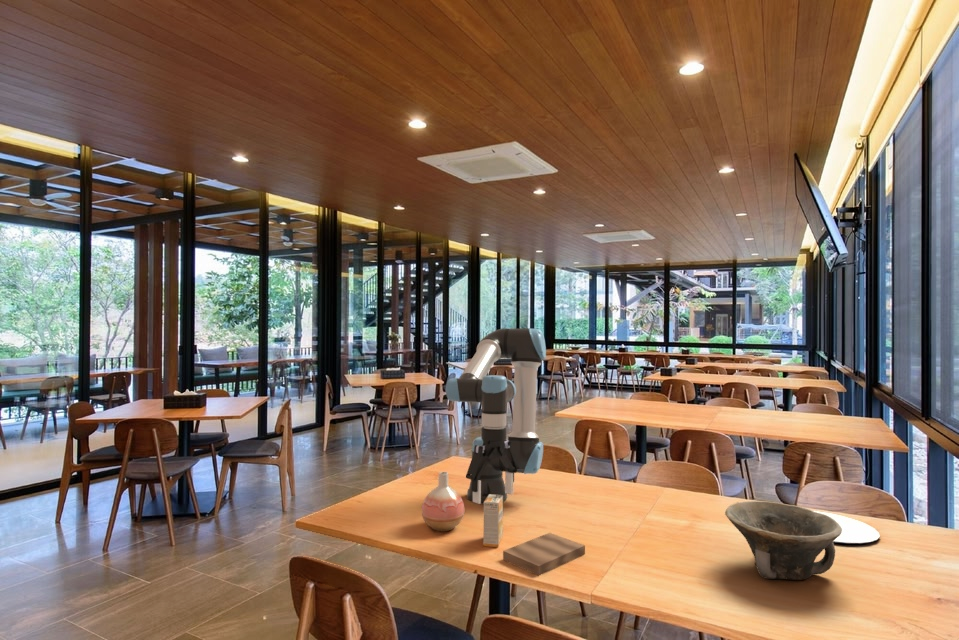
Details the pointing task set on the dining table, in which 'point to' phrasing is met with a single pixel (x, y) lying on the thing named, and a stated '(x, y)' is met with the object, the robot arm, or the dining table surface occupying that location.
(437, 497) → the vase
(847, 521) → the plate
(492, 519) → the supplement box
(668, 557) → the dining table surface
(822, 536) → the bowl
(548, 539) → the walnut board
